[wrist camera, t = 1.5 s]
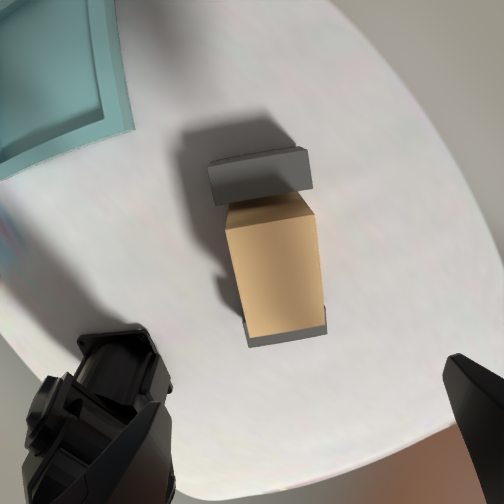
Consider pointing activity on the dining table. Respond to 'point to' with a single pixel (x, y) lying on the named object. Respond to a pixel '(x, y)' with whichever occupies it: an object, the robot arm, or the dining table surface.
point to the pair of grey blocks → (261, 185)
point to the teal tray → (58, 80)
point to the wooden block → (276, 263)
